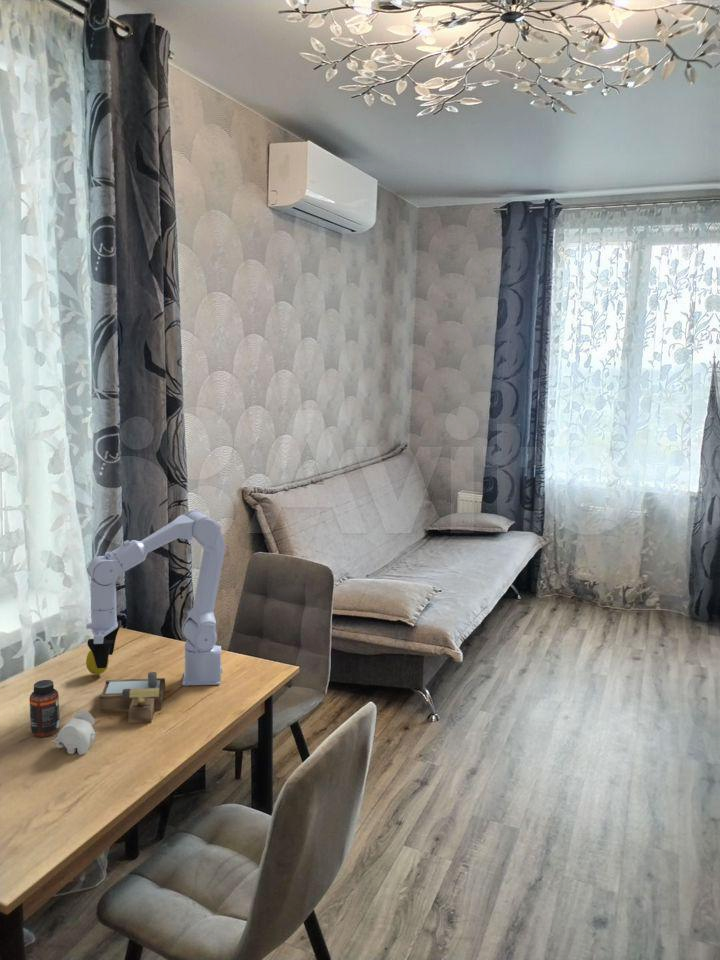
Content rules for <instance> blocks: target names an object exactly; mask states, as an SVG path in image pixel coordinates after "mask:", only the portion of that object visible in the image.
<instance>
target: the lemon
mask: <svg viewBox="0 0 720 960" xmlns="http://www.w3.org/2000/svg"><path fill="white" fill-rule="evenodd" d="M85 660H86V661H85V666H86V669H87V671H89V673H90V674H93V675H95V676H97V677H99V676H100V675H101V674H103V673H104V672H105V671H106V670H107V669H108V667H109V663H110V660H109V657H108V664H107V667H106V668H97V666H96V663H95V659H94V656H93V653H92V651H91V649H90V651H88V653H87V655H86V659H85Z"/></svg>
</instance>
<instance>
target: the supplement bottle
mask: <svg viewBox="0 0 720 960" xmlns="http://www.w3.org/2000/svg"><path fill="white" fill-rule="evenodd" d="M54 687H55V685H54V681H53V680H51V679H41V680H39V681H36V682H35V683H34V684H33V691H32V692H31V694H30V695H29V721H30V733H31V734H32V735H33V736H35V737H39V738H42V737H44V738H45V737H49V736H52V735H54V734H57V733H58V731H60V728H61V727H60V725H61V722H60V721H61V720H60V695H59V692H58V690H57V689H55V688H54Z"/></svg>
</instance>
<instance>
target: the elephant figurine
mask: <svg viewBox="0 0 720 960" xmlns="http://www.w3.org/2000/svg"><path fill="white" fill-rule="evenodd" d="M94 724H95V718H94V717H93V715H92V714H91V713H90V712H88V710H80V711H78V712H77V713H76V714H75V715H74V717H72V718H70V719H69V720H67V722H66V723H65V725H63V727H61V729H59V732H57V733H56V736H57V737H55V738H54V739H53V740H51V741H50V742H49V744H51V743H54V742H55V744H56V747H57V748H58V749H61V748H63V747H64V746H65V748H66V752H67V754H69V755H74V754H75V753H76V752H77V754H78V755H79V756H82V755H85V754H86V753H87V752H88V751H89V748H90V747H92V745H93V743H94V741H95V737H96V734H98V731H96V732H95V730H94V727H93V725H94Z"/></svg>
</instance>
